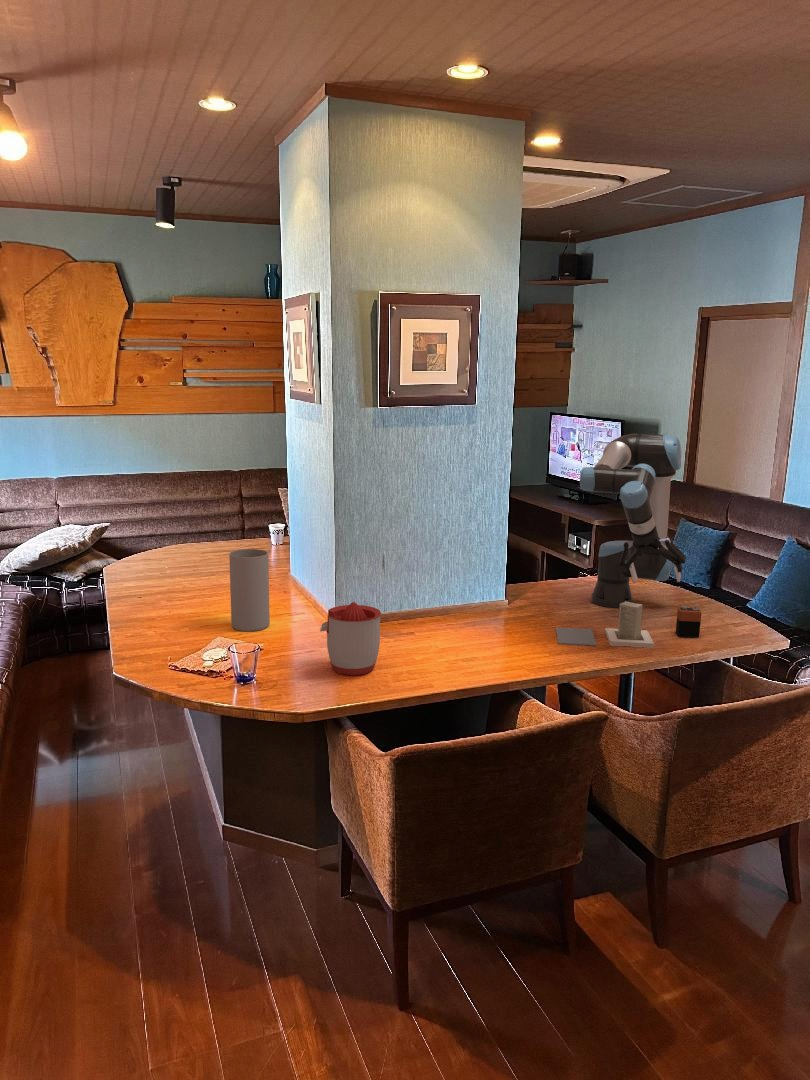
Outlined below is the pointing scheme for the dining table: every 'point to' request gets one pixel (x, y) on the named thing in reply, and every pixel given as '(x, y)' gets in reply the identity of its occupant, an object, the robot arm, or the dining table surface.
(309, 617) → the dining table surface
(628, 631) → the skincare box
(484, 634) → the dining table surface
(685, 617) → the battery
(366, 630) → the citrus juicer
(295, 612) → the dining table surface
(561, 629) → the grey mat
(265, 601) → the cylinder vase
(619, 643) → the white square frame
